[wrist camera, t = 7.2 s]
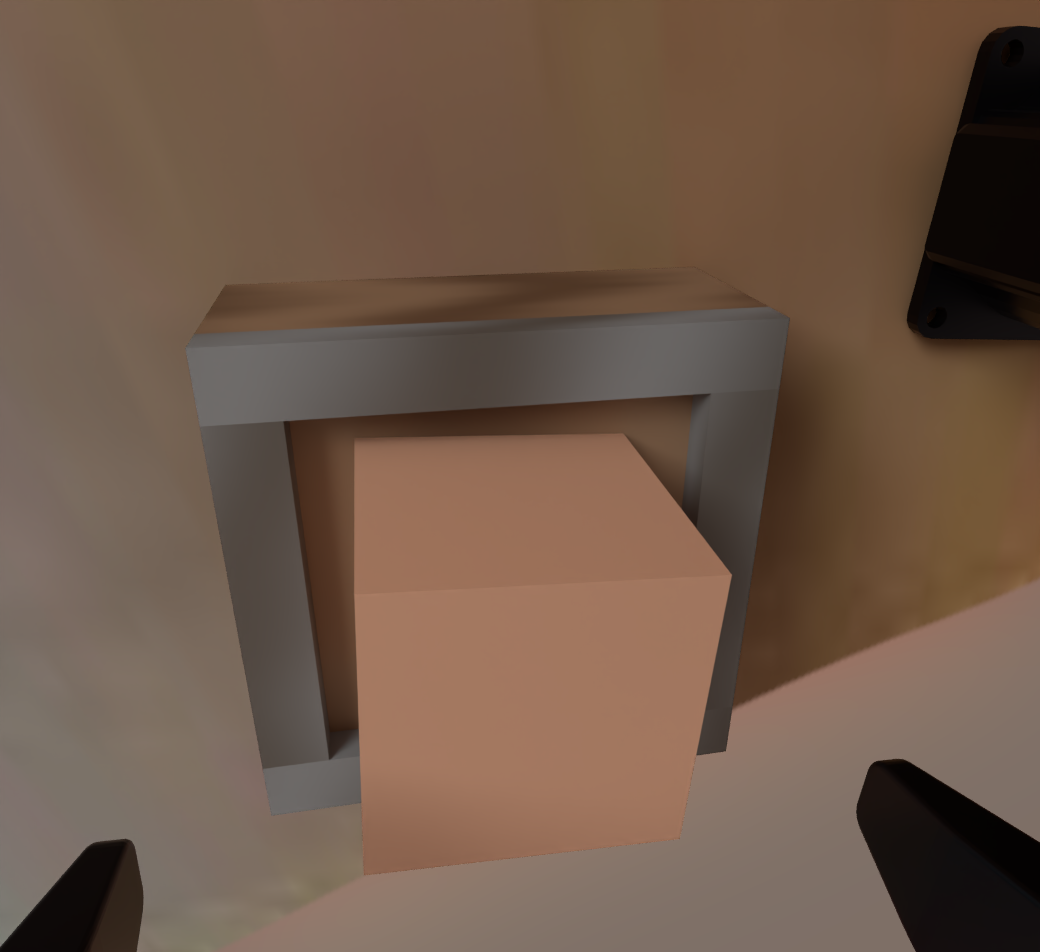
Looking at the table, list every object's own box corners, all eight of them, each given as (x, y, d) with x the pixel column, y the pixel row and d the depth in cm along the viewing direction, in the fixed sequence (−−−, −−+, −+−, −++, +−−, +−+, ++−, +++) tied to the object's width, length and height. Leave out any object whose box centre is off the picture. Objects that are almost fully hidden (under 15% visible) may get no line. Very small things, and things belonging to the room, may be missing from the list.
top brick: (623, 433, 15) (732, 574, 11) (597, 647, 18) (679, 838, 13) (354, 437, 14) (354, 594, 10) (361, 664, 17) (364, 875, 12)
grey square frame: (688, 264, 18) (789, 317, 14) (656, 626, 23) (725, 751, 18) (228, 280, 17) (185, 347, 12) (288, 668, 21) (271, 815, 17)
